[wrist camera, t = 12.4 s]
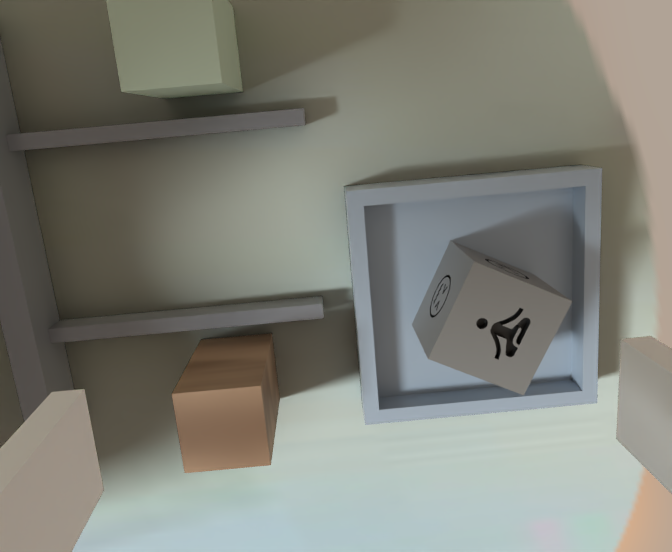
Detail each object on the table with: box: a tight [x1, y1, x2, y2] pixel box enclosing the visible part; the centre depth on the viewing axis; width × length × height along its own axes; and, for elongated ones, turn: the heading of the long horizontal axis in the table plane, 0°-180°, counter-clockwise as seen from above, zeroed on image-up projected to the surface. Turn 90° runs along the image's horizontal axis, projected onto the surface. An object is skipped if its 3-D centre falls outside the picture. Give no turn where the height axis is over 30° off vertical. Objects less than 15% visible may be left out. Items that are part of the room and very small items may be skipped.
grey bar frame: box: [0, 38, 324, 422], centre depth 31 cm, size 22×16×3 cm
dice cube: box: [412, 241, 573, 395], centre depth 30 cm, size 5×5×5 cm
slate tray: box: [344, 165, 602, 425], centre depth 32 cm, size 13×13×2 cm
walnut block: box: [172, 333, 280, 473], centre depth 31 cm, size 4×4×7 cm
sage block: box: [106, 0, 243, 99], centre depth 27 cm, size 4×4×7 cm
